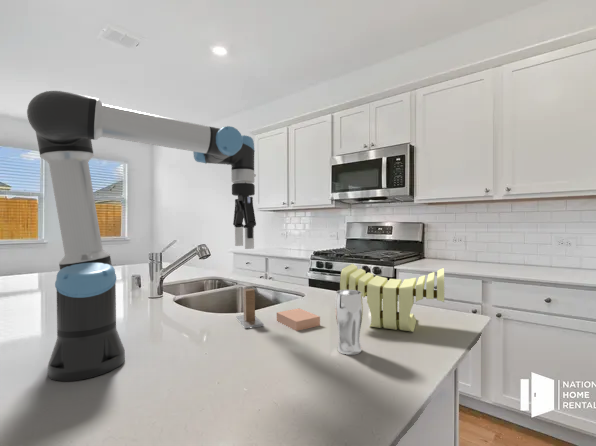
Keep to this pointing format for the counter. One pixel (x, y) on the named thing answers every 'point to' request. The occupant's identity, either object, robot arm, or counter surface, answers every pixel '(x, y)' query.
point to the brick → (298, 319)
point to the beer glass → (349, 320)
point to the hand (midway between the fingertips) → (244, 247)
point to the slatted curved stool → (391, 295)
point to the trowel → (249, 310)
